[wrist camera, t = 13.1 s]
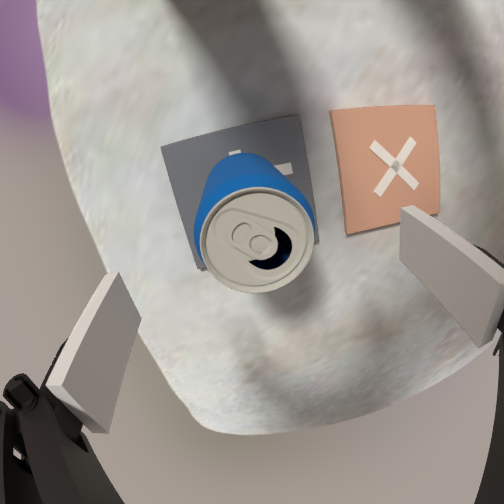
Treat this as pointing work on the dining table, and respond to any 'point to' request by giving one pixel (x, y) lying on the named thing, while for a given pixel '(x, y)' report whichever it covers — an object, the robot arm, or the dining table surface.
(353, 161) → the terracotta tile
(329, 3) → the dining table surface
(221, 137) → the slate tile
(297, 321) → the dining table surface
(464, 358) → the dining table surface
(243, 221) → the beverage can
